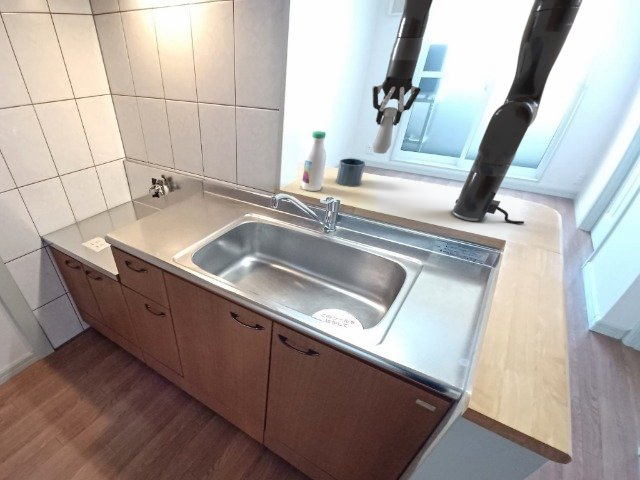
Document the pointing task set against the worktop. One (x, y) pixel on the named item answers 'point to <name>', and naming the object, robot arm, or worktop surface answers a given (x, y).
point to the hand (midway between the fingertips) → (386, 124)
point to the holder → (350, 172)
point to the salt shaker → (384, 131)
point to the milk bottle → (314, 163)
